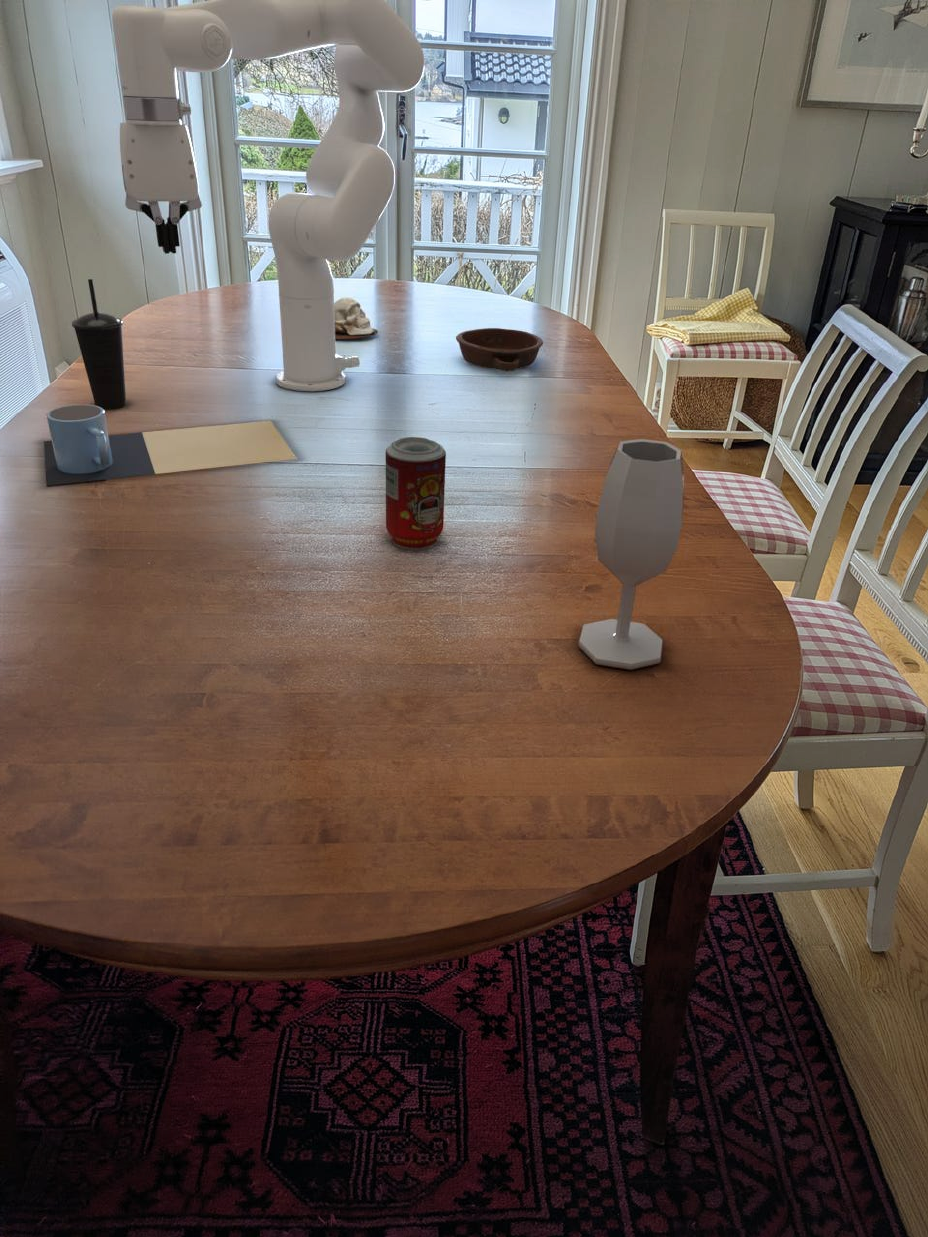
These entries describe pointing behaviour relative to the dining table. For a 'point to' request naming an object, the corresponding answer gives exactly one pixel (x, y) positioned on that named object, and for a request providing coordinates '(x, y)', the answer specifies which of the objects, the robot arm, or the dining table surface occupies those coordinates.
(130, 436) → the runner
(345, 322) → the skull
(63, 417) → the mug
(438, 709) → the dining table surface
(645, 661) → the wineglass
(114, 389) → the drinking cup
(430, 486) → the soda can
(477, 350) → the dish
